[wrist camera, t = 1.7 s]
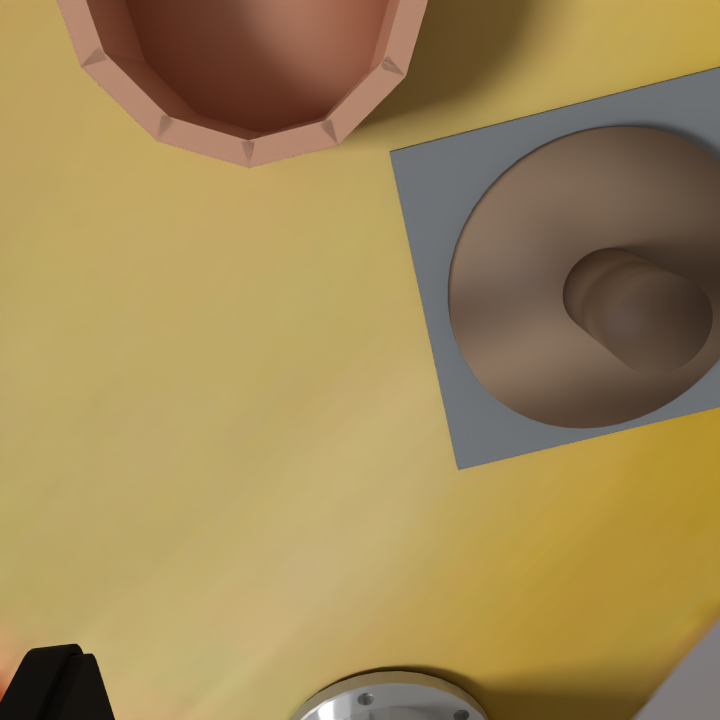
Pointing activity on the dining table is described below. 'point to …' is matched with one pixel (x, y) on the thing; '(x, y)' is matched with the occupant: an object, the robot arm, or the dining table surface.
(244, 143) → the bowl
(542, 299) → the lid
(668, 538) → the dining table surface
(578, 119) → the mat
